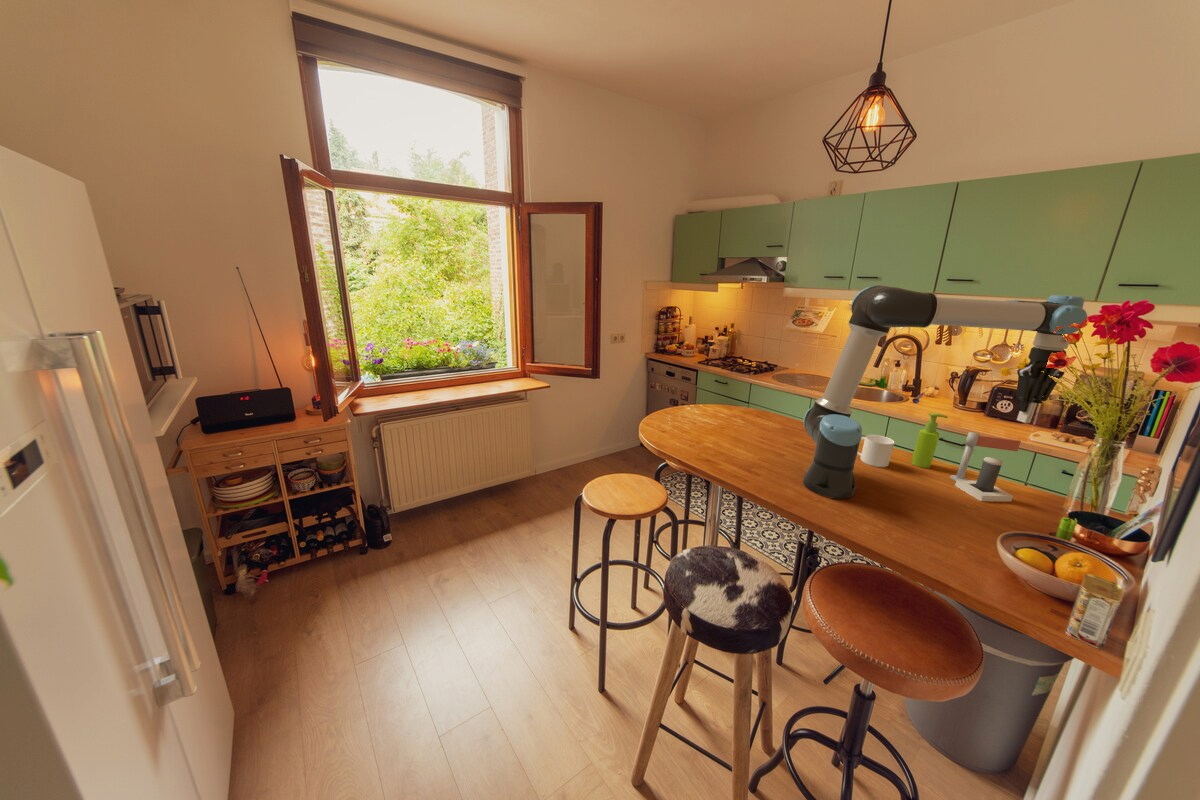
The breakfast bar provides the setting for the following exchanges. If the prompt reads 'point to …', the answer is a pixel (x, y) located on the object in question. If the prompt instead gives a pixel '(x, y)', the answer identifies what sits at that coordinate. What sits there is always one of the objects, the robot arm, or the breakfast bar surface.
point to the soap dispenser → (926, 443)
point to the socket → (970, 485)
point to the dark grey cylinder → (988, 474)
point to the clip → (992, 442)
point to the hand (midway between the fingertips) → (1023, 421)
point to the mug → (876, 450)
